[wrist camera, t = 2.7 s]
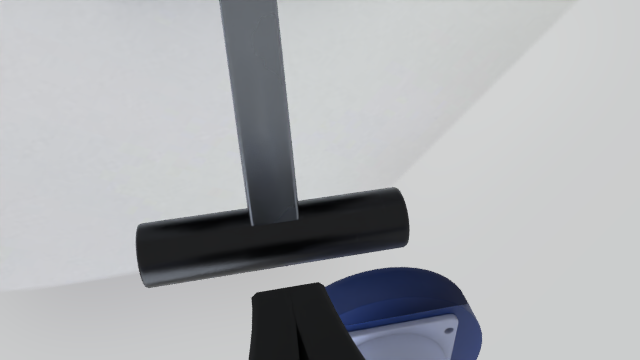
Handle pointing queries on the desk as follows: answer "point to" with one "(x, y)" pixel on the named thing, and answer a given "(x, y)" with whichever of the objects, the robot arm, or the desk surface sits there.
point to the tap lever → (266, 182)
